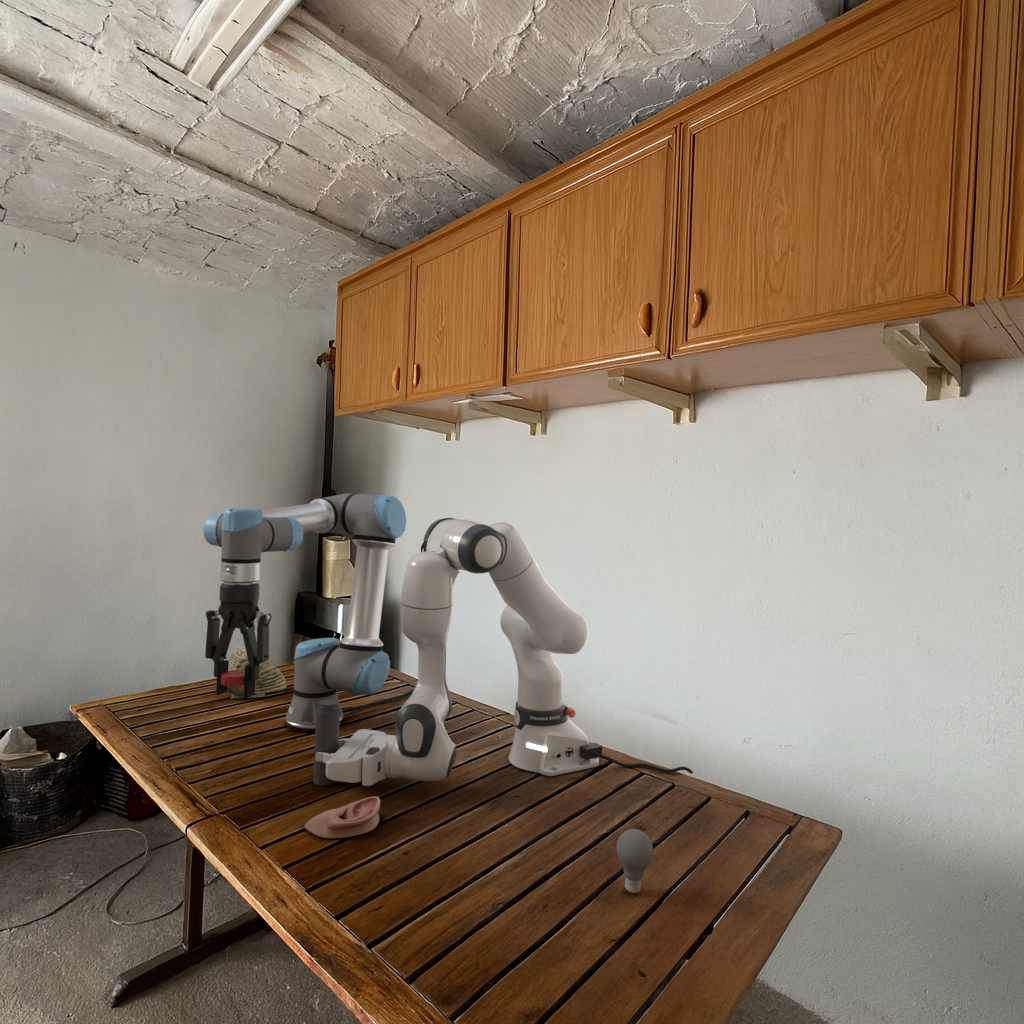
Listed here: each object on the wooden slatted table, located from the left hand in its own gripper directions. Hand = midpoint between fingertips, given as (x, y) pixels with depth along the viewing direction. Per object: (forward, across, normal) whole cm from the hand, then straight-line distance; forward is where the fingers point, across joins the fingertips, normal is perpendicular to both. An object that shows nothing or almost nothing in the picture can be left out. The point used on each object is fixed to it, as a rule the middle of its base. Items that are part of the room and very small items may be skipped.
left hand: (235, 694), depth 131 cm
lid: (-4, 0, 0) cm, 4 cm away
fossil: (+21, -34, +62) cm, 74 cm away
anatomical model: (+22, +26, -4) cm, 35 cm away
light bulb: (+22, +82, -12) cm, 85 cm away
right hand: (+15, +14, +13) cm, 24 cm away
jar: (+22, +14, +13) cm, 29 cm away
